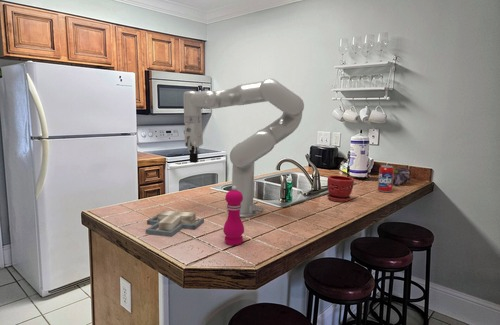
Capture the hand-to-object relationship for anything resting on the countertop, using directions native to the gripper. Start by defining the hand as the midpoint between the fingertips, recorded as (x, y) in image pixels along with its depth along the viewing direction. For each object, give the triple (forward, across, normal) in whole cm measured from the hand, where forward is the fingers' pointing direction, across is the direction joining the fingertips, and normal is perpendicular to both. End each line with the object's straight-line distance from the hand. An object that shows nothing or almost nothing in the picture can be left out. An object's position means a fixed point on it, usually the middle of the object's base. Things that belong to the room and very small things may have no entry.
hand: (193, 162), depth 145 cm
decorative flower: (+24, +90, -104) cm, 139 cm away
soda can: (+24, +66, -92) cm, 116 cm away
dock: (+22, -21, +2) cm, 31 cm away
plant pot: (+24, +39, -65) cm, 79 cm away
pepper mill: (+23, -29, -26) cm, 45 cm away
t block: (+22, -21, +1) cm, 31 cm away
